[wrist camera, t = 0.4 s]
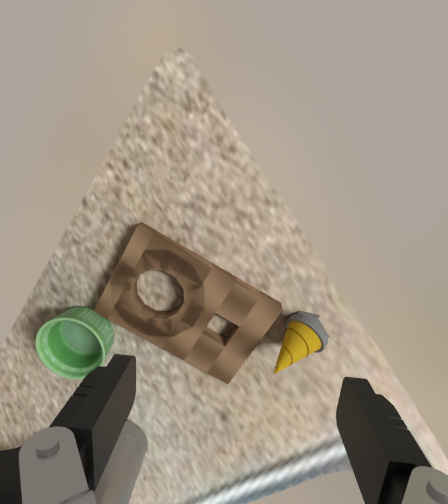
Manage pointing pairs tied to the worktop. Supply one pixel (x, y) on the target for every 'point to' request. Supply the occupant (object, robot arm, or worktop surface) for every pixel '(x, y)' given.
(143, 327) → the socket board
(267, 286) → the worktop surface
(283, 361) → the drill bit
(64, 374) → the ramekin
